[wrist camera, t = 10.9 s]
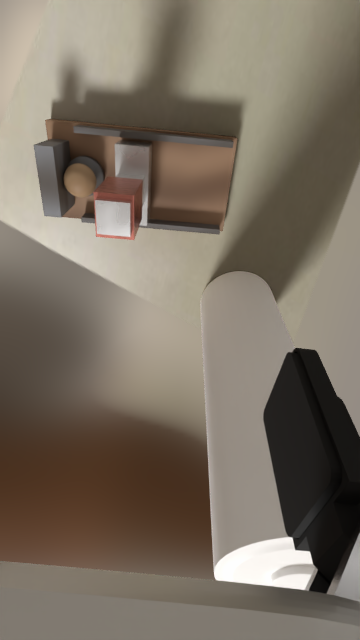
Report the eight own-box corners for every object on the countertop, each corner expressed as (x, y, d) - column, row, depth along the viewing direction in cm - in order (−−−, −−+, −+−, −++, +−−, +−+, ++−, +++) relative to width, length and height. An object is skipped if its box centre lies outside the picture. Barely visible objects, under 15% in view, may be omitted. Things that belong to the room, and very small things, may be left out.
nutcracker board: (50, 118, 32) (25, 123, 27) (235, 136, 32) (243, 145, 28) (62, 212, 37) (42, 230, 32) (221, 226, 38) (226, 247, 33)
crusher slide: (120, 139, 31) (88, 162, 21) (152, 142, 31) (134, 167, 21) (121, 214, 35) (94, 262, 25) (149, 216, 35) (134, 266, 25)
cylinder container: (287, 299, 43) (421, 582, 18) (236, 343, 47) (287, 619, 22) (236, 256, 40) (312, 529, 15) (185, 307, 44) (180, 584, 19)
